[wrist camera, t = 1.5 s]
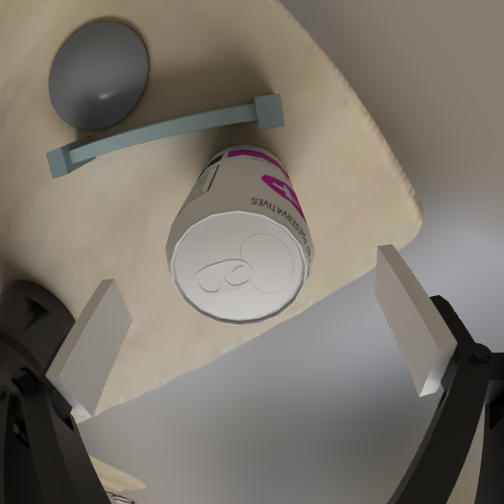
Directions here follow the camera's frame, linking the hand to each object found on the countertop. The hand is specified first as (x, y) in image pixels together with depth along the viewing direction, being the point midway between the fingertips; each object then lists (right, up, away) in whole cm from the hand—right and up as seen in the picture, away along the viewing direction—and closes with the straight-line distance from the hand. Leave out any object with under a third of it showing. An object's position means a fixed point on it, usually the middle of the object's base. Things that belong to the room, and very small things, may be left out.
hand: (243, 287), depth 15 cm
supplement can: (0, +8, +14) cm, 16 cm away
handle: (-7, +13, +11) cm, 19 cm away
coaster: (-14, +18, +8) cm, 25 cm away
